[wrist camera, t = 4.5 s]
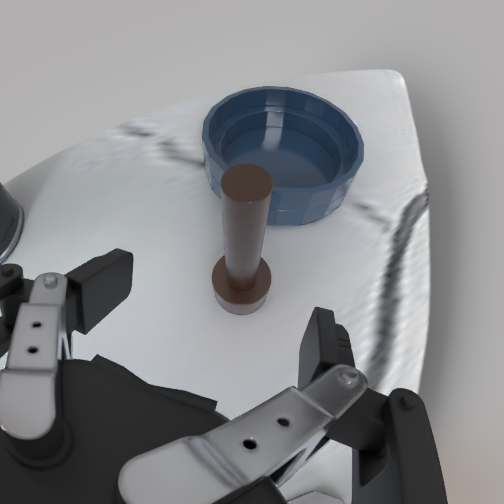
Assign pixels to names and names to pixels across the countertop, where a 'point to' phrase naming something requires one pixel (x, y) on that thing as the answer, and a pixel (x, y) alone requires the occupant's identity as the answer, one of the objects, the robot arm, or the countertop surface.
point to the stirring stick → (243, 239)
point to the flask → (316, 499)
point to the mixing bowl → (285, 149)
